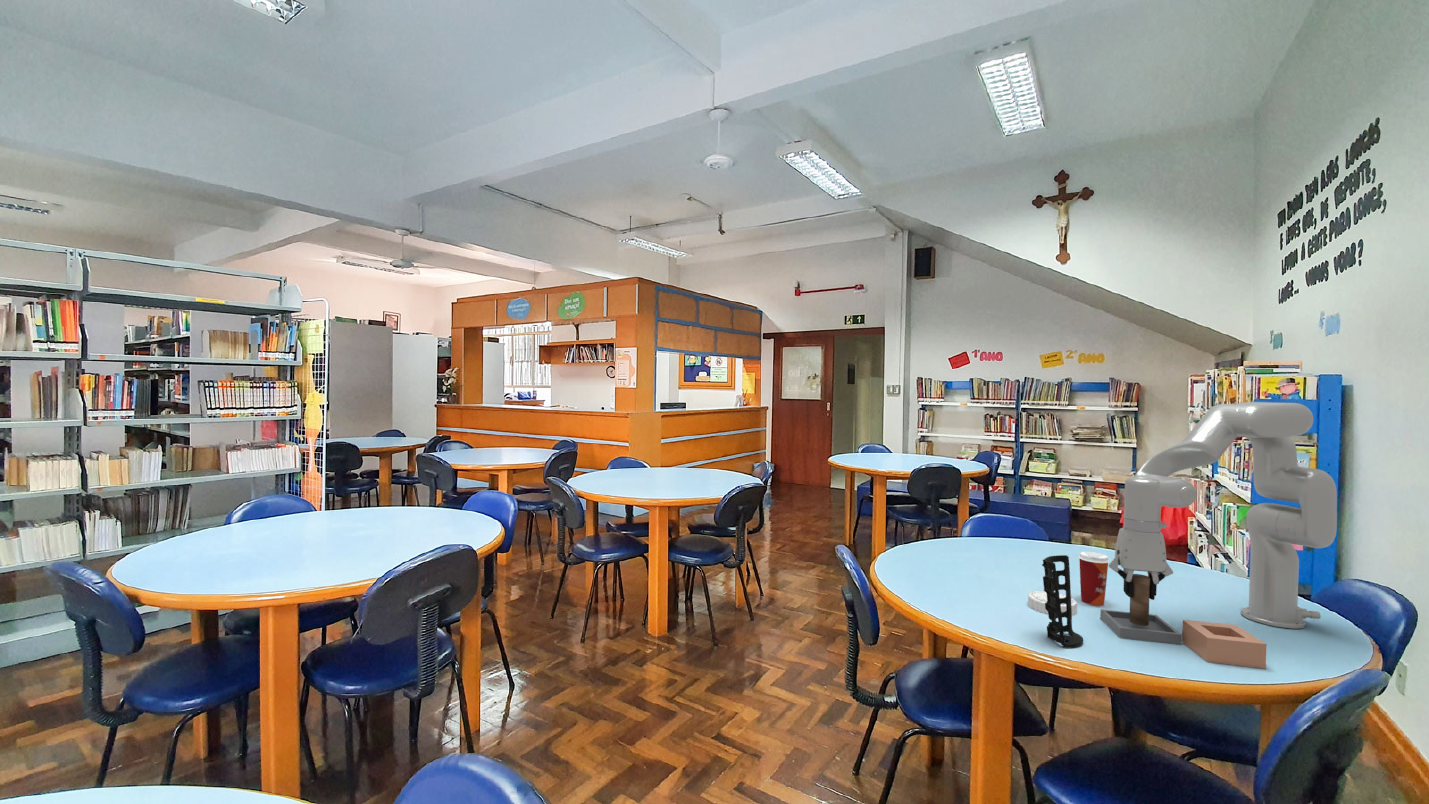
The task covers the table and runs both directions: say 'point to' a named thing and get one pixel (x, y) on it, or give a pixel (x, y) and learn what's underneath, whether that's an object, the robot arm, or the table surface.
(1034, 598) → the mooncake
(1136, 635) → the tray
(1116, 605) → the table surface
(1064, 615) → the holder
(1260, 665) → the well block
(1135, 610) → the dowel pin
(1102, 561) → the paper cup
